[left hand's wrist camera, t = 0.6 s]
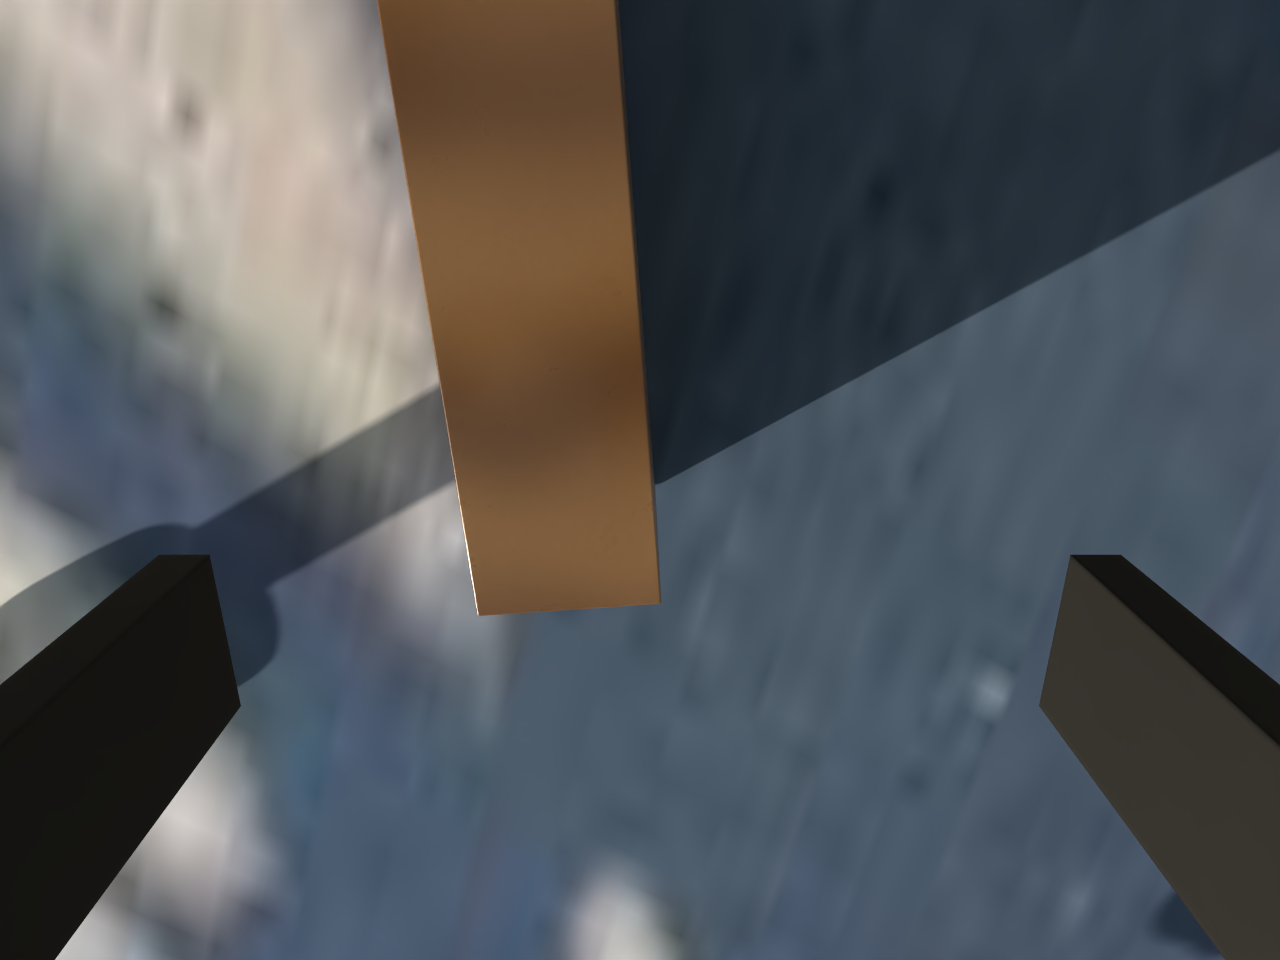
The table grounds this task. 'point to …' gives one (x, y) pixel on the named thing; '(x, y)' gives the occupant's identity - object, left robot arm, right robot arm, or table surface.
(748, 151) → the table surface
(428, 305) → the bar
